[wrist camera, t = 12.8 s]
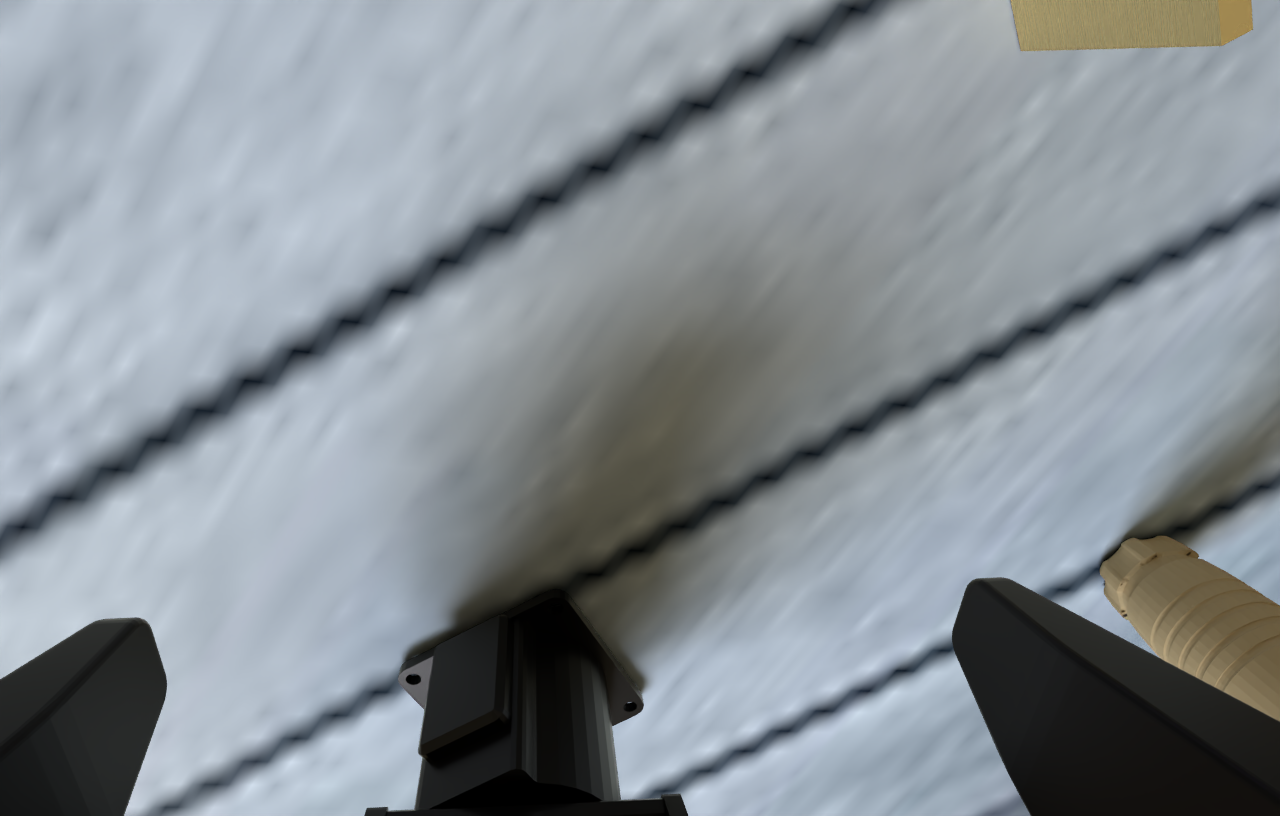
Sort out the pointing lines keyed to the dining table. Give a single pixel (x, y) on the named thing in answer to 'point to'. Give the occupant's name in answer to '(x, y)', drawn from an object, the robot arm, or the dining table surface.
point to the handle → (1199, 618)
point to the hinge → (1128, 23)
